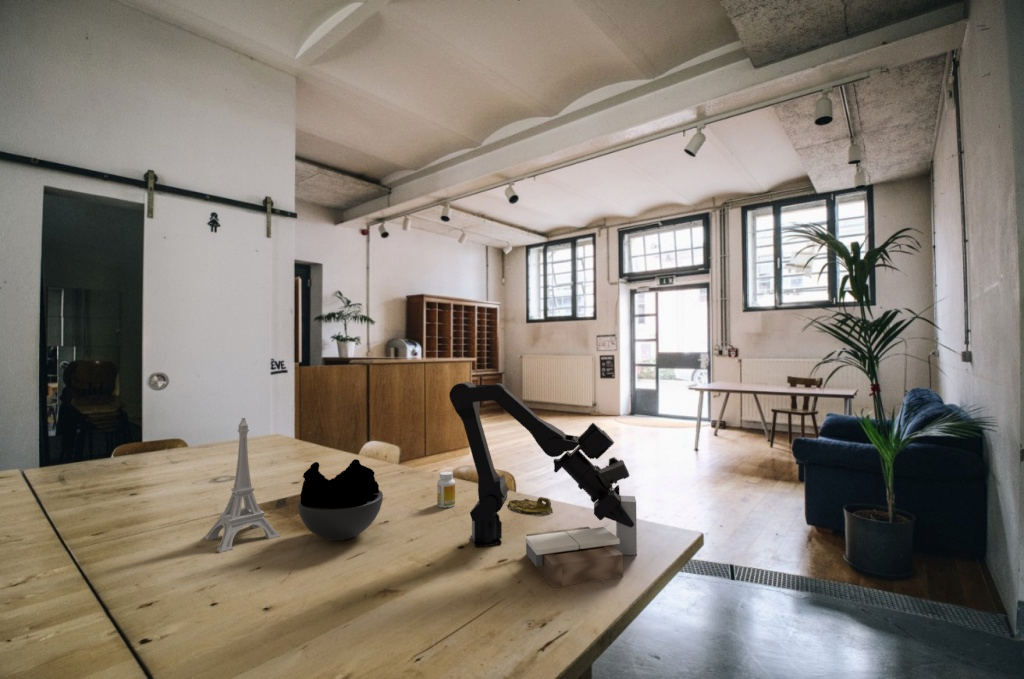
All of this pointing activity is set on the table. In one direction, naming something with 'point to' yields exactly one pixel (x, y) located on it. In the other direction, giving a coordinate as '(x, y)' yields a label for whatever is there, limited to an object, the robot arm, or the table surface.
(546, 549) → the near trapdoor leaf
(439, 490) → the supplement bottle
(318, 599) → the table surface
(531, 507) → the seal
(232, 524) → the eiffel tower
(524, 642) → the table surface
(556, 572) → the box
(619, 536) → the grey stone block
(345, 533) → the coal bowl
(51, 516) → the table surface
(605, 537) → the panel
